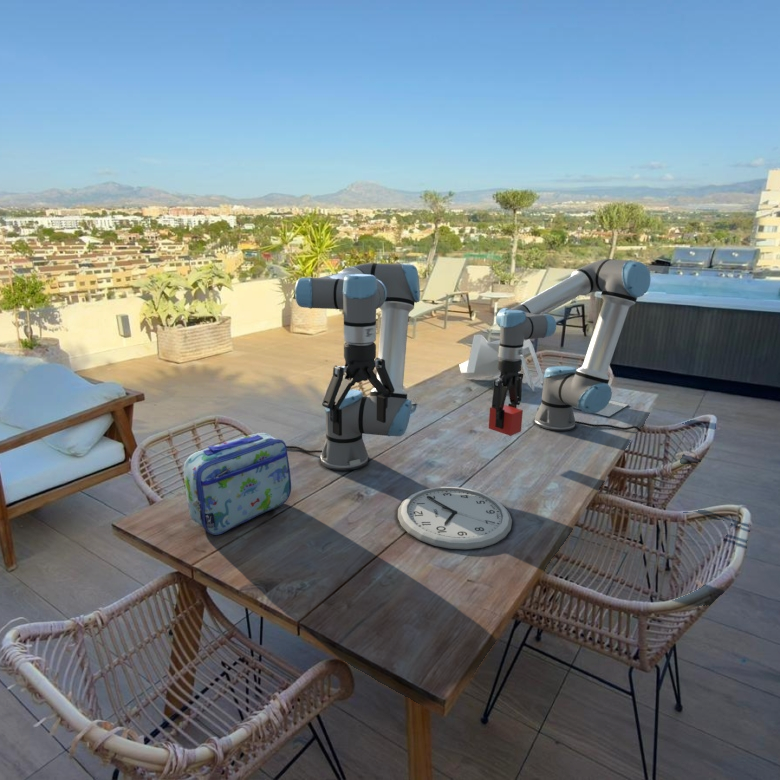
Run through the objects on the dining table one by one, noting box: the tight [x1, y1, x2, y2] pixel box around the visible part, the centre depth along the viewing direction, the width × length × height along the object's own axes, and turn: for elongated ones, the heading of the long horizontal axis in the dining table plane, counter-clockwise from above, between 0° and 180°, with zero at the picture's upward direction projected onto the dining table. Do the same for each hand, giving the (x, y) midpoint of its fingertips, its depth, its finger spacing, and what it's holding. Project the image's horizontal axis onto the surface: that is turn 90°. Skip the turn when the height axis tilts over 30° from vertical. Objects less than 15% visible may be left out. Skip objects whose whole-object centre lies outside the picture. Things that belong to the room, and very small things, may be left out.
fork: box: [411, 396, 419, 405], centre depth 222 cm, size 3×16×2 cm, turn 160°
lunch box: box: [183, 432, 292, 536], centre depth 133 cm, size 26×11×21 cm, turn 134°
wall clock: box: [397, 486, 513, 550], centre depth 138 cm, size 30×2×30 cm
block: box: [488, 404, 524, 437], centre depth 176 cm, size 9×6×8 cm, turn 43°
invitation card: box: [573, 400, 629, 418], centre depth 226 cm, size 21×1×15 cm
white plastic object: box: [458, 334, 544, 393], centre depth 256 cm, size 37×45×31 cm
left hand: (359, 427), depth 128 cm, fingers open, 13 cm apart
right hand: (505, 424), depth 176 cm, fingers closed on block, 6 cm apart
